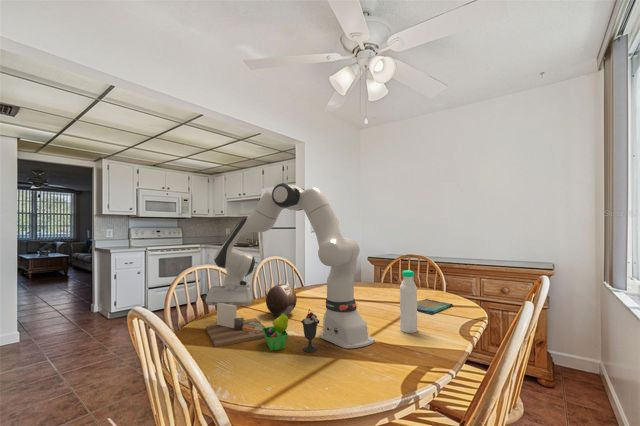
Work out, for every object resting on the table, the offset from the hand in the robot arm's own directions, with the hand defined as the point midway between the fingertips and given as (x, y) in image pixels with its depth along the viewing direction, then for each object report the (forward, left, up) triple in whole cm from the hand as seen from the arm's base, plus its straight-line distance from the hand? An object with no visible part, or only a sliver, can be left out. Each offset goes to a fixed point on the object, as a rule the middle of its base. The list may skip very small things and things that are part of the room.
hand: (225, 313), depth 134 cm
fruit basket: (-29, -13, -6) cm, 33 cm away
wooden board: (-9, -3, -6) cm, 11 cm away
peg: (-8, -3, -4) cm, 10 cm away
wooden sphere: (+4, -28, -6) cm, 29 cm away
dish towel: (-21, -102, -7) cm, 104 cm away
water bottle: (-42, -67, -6) cm, 79 cm away
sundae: (-39, -22, -6) cm, 45 cm away
